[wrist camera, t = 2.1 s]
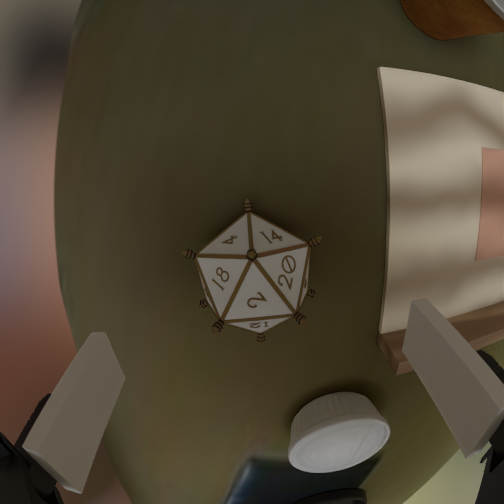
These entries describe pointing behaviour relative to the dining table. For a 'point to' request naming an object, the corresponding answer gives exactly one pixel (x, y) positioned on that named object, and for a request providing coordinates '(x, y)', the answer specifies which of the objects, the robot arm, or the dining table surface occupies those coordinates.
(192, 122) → the dining table surface
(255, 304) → the game die
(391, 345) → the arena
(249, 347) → the dining table surface
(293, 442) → the ramekin
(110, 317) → the dining table surface
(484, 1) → the disposable coffee cup
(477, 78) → the dining table surface
